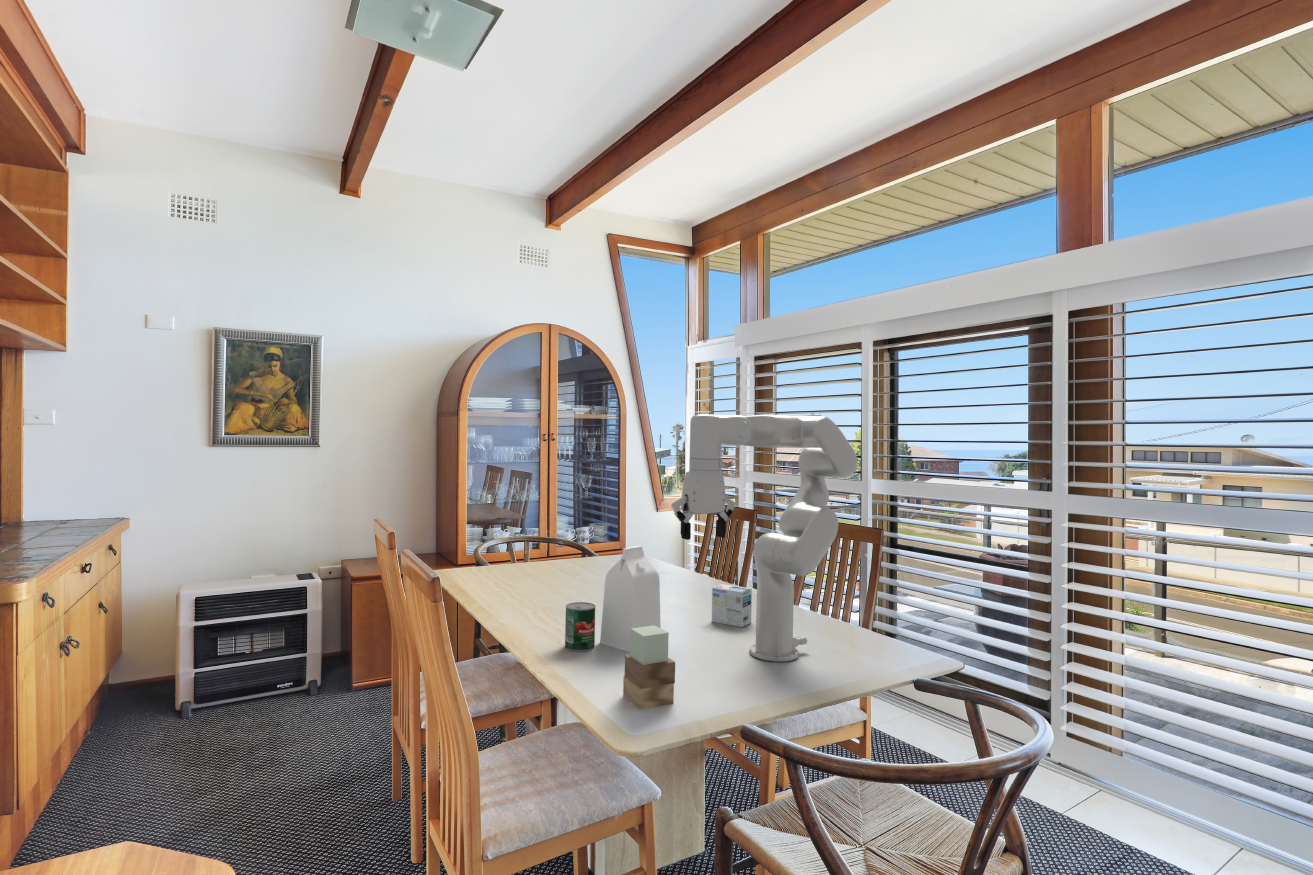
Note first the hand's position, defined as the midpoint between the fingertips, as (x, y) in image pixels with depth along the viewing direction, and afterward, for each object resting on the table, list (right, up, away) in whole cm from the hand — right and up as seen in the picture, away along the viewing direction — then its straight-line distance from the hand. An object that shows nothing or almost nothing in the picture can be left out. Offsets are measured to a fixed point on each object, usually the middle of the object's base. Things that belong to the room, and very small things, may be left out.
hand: (703, 537), depth 161 cm
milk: (-18, -32, +22) cm, 43 cm away
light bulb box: (+12, -33, +45) cm, 57 cm away
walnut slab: (-13, -28, -17) cm, 35 cm away
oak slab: (-13, -32, -17) cm, 39 cm away
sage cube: (-13, -23, -17) cm, 31 cm away
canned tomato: (-32, -32, +18) cm, 48 cm away
